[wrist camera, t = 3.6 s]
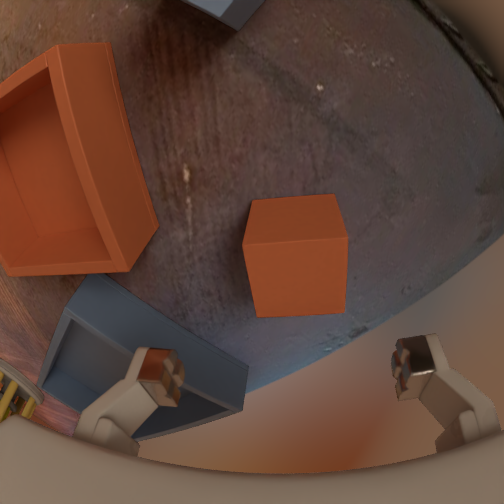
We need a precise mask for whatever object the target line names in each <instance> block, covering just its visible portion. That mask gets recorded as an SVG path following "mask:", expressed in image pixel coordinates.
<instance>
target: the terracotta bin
mask: <svg viewBox="0 0 504 504" xmlns="http://www.w3.org/2000/svg"><path fill="white" fill-rule="evenodd" d="M158 227H159V223H158V220H157V217H156V214H155V211H154V208H153V205H152V202H151V199H150V196H149V192H148V189H147V186H146V183H145V179H144V176H143V173H142V169H141V166H140V162H139V159H138V155H137V152H136V148H135V145H134V141H133V137H132V134H131V130H130V126H129V122H128V118H127V114H126V110H125V106H124V102H123V98H122V94H121V89H120V85H119V80H118V76H117V71H116V67H115V62H114V57H113V52H112V47H111V43H108V42H105V43H76V44H60V45H56V46H54V47H53V48H51V49H49V50H48V51H46V52H44V53H43V54H41V55H40V56H38V57H36V58H35V59H33V60H32V61H30V62H29V63H28V64H26V65H25V66H23V67H22V68H20V69H19V70H18V71H16V72H15V73H14V74H12V75H11V76H10V77H8V78H7V79H6V80H4V81H3V82H2V83H1V84H0V262H1V264H2V266H3V268H4V270H5V271H6V273H7V275H8V276H9V277H13V276H14V277H16V276H45V275H70V274H94V273H116V272H129V271H130V270H131V268H132V267H133V265H134V263H135V262H136V260H137V259H138V257H139V256H140V254H141V252H142V251H143V249H144V248H145V246H146V245H147V243H148V242H149V240H150V239H151V237H152V236H153V234H154V233H155V231H156V230H157V229H158Z"/></svg>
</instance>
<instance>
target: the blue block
mask: <svg viewBox="0 0 504 504" xmlns="http://www.w3.org/2000/svg"><path fill="white" fill-rule="evenodd" d="M181 1H183V2H185V3H187V4H189V5H191V6H193V7H195V8H197V9H199V10H201V11H203V12H205V13H206V14H208V15H210V16H212V17H214V18H216V19H217V20H219V21H221V22H223V23H224V24H226V25H228V26H230V27H231V28H233V29H235V30H236V31H239V30H240V29H241V28H242V26H243V25H244V24H245V23H246V22H247V20H248V19H249V18H250V17H251V16H252V15H253V13H254V12H255V11H256V10H257V9H258V8H259V7H260V5H261V4H262V3H263V2H264V1H265V0H181Z"/></svg>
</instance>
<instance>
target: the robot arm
mask: <svg viewBox="0 0 504 504" xmlns="http://www.w3.org/2000/svg"><path fill="white" fill-rule="evenodd" d="M396 349H397V350H396V351H395V352H394V353H393V355H392V359H391V368H392V374H393V377H394V378H395V379H397V383H396V385H395V388H396V393H397V398H398V401H402V400H408V399H415V398H419V400H420V401H421V402H422V404H423V405H424V406H425V407H426V408H427V409H428V410H429V412H430V413H431V414H432V415H433V416H434V417H435V418H436V420H437V421H438V422H439V423H440V424H441V425H442V426H443V427H444V429H445V431H444V432H443V433H442V434H441V435H440V436H439V437H438V438H437V439H436V440H435V445H436V451H437V453H435V454H432V455H428V456H424V457H420V458H416V459H412V460H407V461H402V462H397V463H392V464H386V465H380V466H374V467H368V468H361V469H352V470H343V471H334V472H320V473H298V474H297V473H296V474H264V473H243V472H229V471H218V470H208V469H201V468H193V467H187V466H181V465H175V464H169V463H164V462H159V461H154V460H149V459H144V458H141V457H137V455H138V451H139V448H140V445H139V443H138V442H136V441H135V440H134V439H133V438H132V437H130V436H131V435H132V434H133V433H134V432H135V431H136V430H137V429H138V428H139V427H140V426H141V425H142V423H143V422H144V421H145V420H146V419H147V418H148V417H149V416H150V415H151V414H152V413H153V412H154V410H155V409H156V408H157V407H158V405H161V406H171V407H177V406H178V402H179V399H180V395H181V392H180V390H179V387H180V386H181V385H182V384H183V383H184V379H185V367H184V364H183V362H182V361H181V360H179V359H178V358H177V357H178V353H177V351H176V350H175V349H164V348H151V347H138V348H137V349H136V351H135V354H134V356H133V359H132V361H131V364H130V366H129V369H128V371H127V374H126V376H125V379H124V380H123V379H121V380H120V381H118V382H117V383H116V384H115V385H114V386H112V387H111V388H110V389H109V390H108V391H106V392H105V393H104V394H103V395H101V396H100V397H99V398H98V399H97V400H95V401H94V402H93V403H92V404H90V405H89V406H88V407H87V408H86V409H84V410H83V411H82V414H81V416H80V418H79V421H78V423H77V426H76V429H75V431H74V434H73V436H72V437H71V436H68V435H65V434H63V433H60V432H58V431H55V430H53V429H50V428H48V427H45V426H43V425H41V424H39V423H36V422H34V421H32V420H30V419H28V418H26V417H24V416H21V415H18V414H14V415H12V416H10V417H8V418H7V419H5V420H4V421H2V422H1V423H0V504H504V430H502V431H501V428H500V424H499V420H498V417H497V413H496V410H495V407H494V404H493V401H492V400H490V399H489V398H488V397H487V396H486V395H485V394H483V393H482V392H481V391H480V390H479V389H478V388H476V387H475V386H474V385H473V384H472V383H471V382H469V381H468V380H467V379H466V378H465V377H463V376H462V375H461V374H460V373H459V372H457V371H456V370H455V369H454V368H451V369H450V368H449V365H448V362H447V359H446V356H445V354H444V351H443V349H442V346H441V343H440V340H439V338H438V336H437V334H428V335H420V336H415V337H409V338H402V339H398V340H397V343H396Z"/></svg>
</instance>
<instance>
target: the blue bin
mask: <svg viewBox="0 0 504 504" xmlns="http://www.w3.org/2000/svg"><path fill="white" fill-rule="evenodd" d="M138 347H151V348H164V349H175V350H176V351H177V353H178V357H177V358H178V359H179V360H181V361H182V362H183V364H184V367H185V379H184V383H183V384H182V385H181V386H180V387H179V390H180V392H181V395H180V399H179V402H178V406H177V407H171V406H161V405H158V407H157V408H156V409H155V410H154V412H153V413H152V414H151V415H150V416H149V417H148V418H147V419H146V420H145V421H144V422H143V423H142V425H141V426H140V427H139V428H138V429H137V430H136V431H135V432H134V433H133V434H132V435H131V436H130V437H132V438H133V439H134V440H135V441H136V442H138V441H143V440H147V439H151V438H155V437H159V436H163V435H166V434H171V433H175V432H178V431H182V430H185V429H189V428H192V427H196V426H199V425H202V424H205V423H208V422H212V421H215V420H218V419H221V418H224V417H227V416H230V415H232V414H235V413H237V412H240V411H242V410H243V404H244V397H245V389H246V382H247V375H248V368H249V366H247V365H246V364H244V363H242V362H240V361H238V360H237V359H235V358H233V357H231V356H230V355H228V354H226V353H224V352H223V351H221V350H219V349H217V348H216V347H214V346H212V345H211V344H209V343H207V342H206V341H204V340H202V339H201V338H199V337H197V336H196V335H194V334H193V333H191V332H189V331H188V330H186V329H185V328H183V327H181V326H180V325H178V324H177V323H175V322H174V321H172V320H170V319H169V318H167V317H166V316H164V315H163V314H161V313H160V312H158V311H157V310H155V309H154V308H152V307H151V306H149V305H148V304H146V303H145V302H143V301H142V300H141V299H139V298H138V297H136V296H135V295H133V294H132V293H130V292H129V291H128V290H126V289H125V288H123V287H122V286H121V285H119V284H118V283H116V282H115V281H114V280H112V279H111V278H110V277H108V276H107V275H106V274H104V273H94V274H88V275H87V276H86V277H85V279H84V280H83V282H82V283H81V284H80V286H79V287H78V289H77V290H76V291H75V293H74V294H73V296H72V297H71V299H70V300H69V301H68V303H67V304H66V306H65V308H64V310H63V312H62V315H61V317H60V320H59V322H58V325H57V327H56V330H55V332H54V335H53V338H52V340H51V343H50V346H49V349H48V351H47V354H46V357H45V360H44V363H43V366H42V369H41V372H40V375H39V378H38V382H37V385H36V386H37V387H39V388H40V389H42V390H43V391H45V392H46V393H47V394H49V395H50V396H52V397H54V398H55V399H57V400H58V401H60V402H61V403H63V404H64V405H66V406H68V407H69V408H71V409H73V410H74V411H76V412H78V413H79V414H82V411H83V410H84V409H86V408H87V407H88V406H89V405H90V404H92V403H93V402H94V401H95V400H97V399H98V398H99V397H100V396H101V395H103V394H104V393H105V392H106V391H108V390H109V389H110V388H111V387H112V386H114V385H115V384H116V383H117V382H118V381H120V380H121V379H123V380H124V379H125V376H126V374H127V371H128V369H129V366H130V364H131V361H132V359H133V356H134V354H135V351H136V349H137V348H138Z"/></svg>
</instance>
